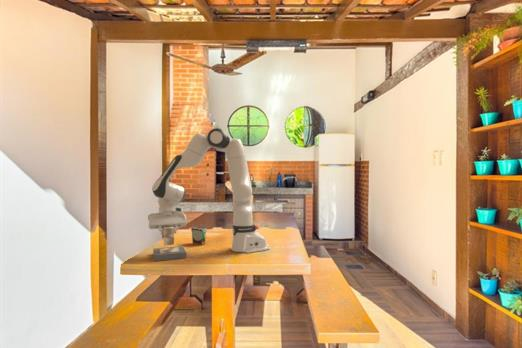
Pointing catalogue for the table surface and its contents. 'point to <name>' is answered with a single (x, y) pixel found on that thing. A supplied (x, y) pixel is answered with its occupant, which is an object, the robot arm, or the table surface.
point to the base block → (169, 253)
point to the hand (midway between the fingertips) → (168, 233)
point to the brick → (169, 235)
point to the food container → (198, 235)
